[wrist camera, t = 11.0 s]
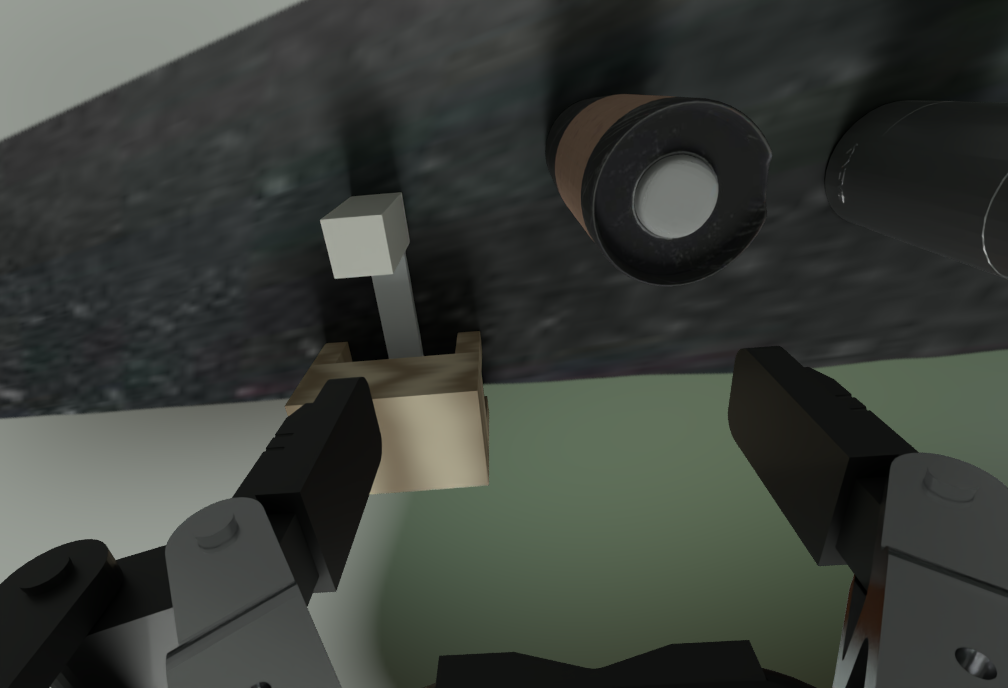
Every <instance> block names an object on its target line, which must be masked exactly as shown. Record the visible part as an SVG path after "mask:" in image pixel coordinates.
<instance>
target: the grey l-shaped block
mask: <svg viewBox="0 0 1008 688" xmlns="http://www.w3.org/2000/svg"><path fill="white" fill-rule="evenodd" d="M320 222H321V226H322V230H323V234H324V238H325V242H326V246H327V250H328V254H329V258H330V262H331V266H332V270H333V274H334V278H335V279H338V278H350V277H362V276H372V281H373V285H374V290H375V295H376V300H377V304H378V309H379V314H380V319H381V323H382V328H383V333H384V338H385V342H386V347H387V352H388V357H389V359H396V358H408V357H420V356H424V355H423V349H422V343H421V337H420V332H419V326H418V320H417V314H416V309H415V303H414V297H413V291H412V286H411V280H410V274H409V268H408V262H407V257H406V249H407V247H408V245H409V243H410V239H409V233H408V227H407V221H406V215H405V209H404V203H403V197H402V192H398V193H386V194H374V195H363V196H351V197H350V198H348V199H347V200H346V201H344V202H343V203H342V204H340V205H339V206H338V207H336V208H335V209H334V210H332V211H331V212H330V213H328V214H327V215H326V216H324V217H323V218H322V219H320Z"/></svg>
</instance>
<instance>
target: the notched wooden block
mask: <svg viewBox="0 0 1008 688" xmlns="http://www.w3.org/2000/svg"><path fill="white" fill-rule="evenodd" d="M481 370H482V345H481V336H480V331H473V332H461V333H458V335H457V343H456V350H455V354H445V355H433V356H420V357H408V358H396V359H383V360H371V361H358V362H352V357H351V353H350V349H349V345H348V342H338V343H326V344H325V345H324V347H323V348H322V350H321V351H320V353H319V354H318V356H317V358H316V359H315V361H314V362H313V364H312V365H311V367H310V368H309V370H308V371H307V373H306V374H305V376H304V377H303V379H302V380H301V382H300V384H299V385H298V387H297V388H296V390H295V391H294V393H293V394H292V396H291V397H290V399H289V400H288V402H287V403H286V405H285V409H286V412H287V415H288V416H290V415H291V414H292V413H294V412H295V411H296V410H297V409H299V408H300V407H301V406H303V405H304V404H305V403H313V402H314V400H315V399H316V397H317V396H318V394H319V392H320V391H321V389H322V388H323V386H324V385H325V383H326V382H327V380H329V379H338V378H351V377H364V378H365V379H366V380H367V382H368V385H369V388H370V392H371V396H372V400H373V404H374V408H375V412H376V416H377V420H378V424H379V428H380V432H381V438H382V457H381V462H380V465H379V468H378V471H377V474H376V477H375V480H374V482H373V485H372V488H371V491H370V494H369V495H371V494H384V493H396V492H410V491H422V490H434V489H435V490H436V489H448V488H461V487H472V486H473V487H474V486H486V485H489V409H488V400H487V396H484V392H483V382H482V373H481Z"/></svg>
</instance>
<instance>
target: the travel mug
mask: <svg viewBox="0 0 1008 688" xmlns="http://www.w3.org/2000/svg"><path fill="white" fill-rule="evenodd" d="M771 158H772V151H771V148H770V145H769V143H768V142H767V140H766V138H765V136H764V135H763V133H762V132H761V130H760V129H759V128H758V127H757V126H756V124H755V123H754V122H753V121H752V120H751V119H750V118H749V117H747V116H746V115H745V114H744V113H742V112H741V111H739V110H737V109H736V108H734V107H732V106H730V105H727V104H725V103H722V102H720V101H715V100H710V99H706V98H689V97H670V96H652V95H634V94H618V95H609V96H602V97H594V98H589V99H585V100H581V101H579V102H576V103H575V104H573V105H571V106H570V107H568V108H567V109H566V110H564V111H563V112H562V113H561V114H560V115H559V117H558V118H557V119H556V120H555V122H554V124H553V125H552V127H551V129H550V132H549V135H548V138H547V142H546V162H547V166H548V170H549V172H550V175H551V177H552V179H553V181H554V183H555V185H556V187H557V189H558V191H559V193H560V195H561V197H562V199H563V200H564V202H565V204H566V205H567V206H568V208H569V209H570V210H571V212H572V213H573V215H574V216H575V217H576V219H577V220H578V221H579V223H580V224H581V225H582V227H583V228H584V229H585V231H586V232H587V233H588V235H589V236H590V237H591V239H592V240H593V241H594V243H595V244H596V245H597V247H598V248H599V249H600V251H601V252H602V253H603V255H604V256H605V257H606V258H607V259H608V261H609V262H610V263H611V264H612V265H613V266H615V267H616V268H617V269H618V270H619V271H620V272H622V273H624V274H625V275H627V276H628V277H630V278H632V279H635V280H637V281H639V282H642V283H646V284H650V285H656V286H679V285H685V284H690V283H694V282H697V281H700V280H703V279H705V278H707V277H709V276H711V275H714V274H715V273H717V272H719V271H720V270H722V269H724V268H725V267H726V266H728V265H729V264H730V263H732V262H733V261H734V260H735V259H736V258H737V257H738V256H740V255H741V254H742V253H743V252H744V251H745V249H746V248H747V247H748V246H749V245H750V244H751V242H752V241H753V240H754V238H755V237H756V236H757V234H758V233H759V231H760V229H761V228H762V226H763V224H764V222H765V220H766V217H767V210H766V192H767V181H768V171H769V164H770V161H771Z"/></svg>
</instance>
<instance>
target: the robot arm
mask: <svg viewBox="0 0 1008 688" xmlns="http://www.w3.org/2000/svg"><path fill="white" fill-rule="evenodd" d="M825 190H826V196H827V199H828V202H829V204H830V206H831V207H832V209H833V210H834V211H835V213H836V214H837V215H839V216H840V217H841V218H843V219H844V220H847V221H849V222H852V223H854V224H857V225H860V226H862V227H865V228H868V229H871V230H873V231H876V232H879V233H881V234H884V235H886V236H889V237H892V238H895V239H897V240H900V241H903V242H906V243H908V244H911V245H914V246H917V247H920V248H922V249H925V250H928V251H931V252H933V253H936V254H939V255H942V256H945V257H947V258H950V259H953V260H956V261H958V262H961V263H964V264H967V265H970V266H972V267H975V268H978V269H981V270H983V271H986V272H989V273H992V274H994V275H997V276H1000V277H1003V278H1006V279H1008V103H1004V102H958V101H919V100H907V101H896V102H892V103H889V104H885V105H882V106H880V107H878V108H876V109H874V110H872V111H870V112H869V113H867V114H866V115H865V116H863V117H862V118H861V119H859V120H858V121H857V122H856V123H855V124H854V125H853V126H852V127H851V128H850V129H849V130H848V131H847V132H846V133H845V134H844V136H843V137H842V138H841V140H840V141H839V142H838V144H837V145H836V147H835V149H834V151H833V153H832V155H831V157H830V160H829V163H828V167H827V170H826V177H825ZM728 420H729V427H730V430H731V434H732V436H733V438H734V440H735V442H736V443H737V445H738V446H739V448H740V449H741V451H742V452H743V453H744V455H745V457H746V458H747V460H748V461H749V462H750V464H751V466H752V467H753V468H754V470H755V471H756V473H757V475H758V476H759V478H760V479H761V481H762V482H763V484H764V485H765V487H766V488H767V490H768V491H769V493H770V494H771V495H772V497H773V499H774V500H775V502H776V503H777V505H778V506H779V508H780V509H781V511H782V512H783V514H784V515H785V517H786V518H787V520H788V521H789V523H790V524H791V526H792V527H793V529H794V530H795V532H796V533H797V535H798V536H799V538H800V539H801V541H802V542H803V544H804V545H805V547H806V548H807V550H808V551H809V553H810V554H811V556H812V557H813V559H814V560H815V562H816V563H817V565H818V566H829V565H846V564H847V565H848V566H849V567H850V569H851V570H852V571H853V573H854V576H853V580H852V582H851V585H850V589H849V594H848V600H847V607H846V612H845V618H844V624H843V630H842V636H841V642H840V649H839V654H838V660H837V666H836V672H835V677H834V682H833V686H832V688H1008V488H1007V487H1006V486H1005V485H1004V484H1003V483H1002V482H1001V481H999V480H998V479H997V478H995V477H994V476H992V475H991V474H989V473H988V472H986V471H984V470H982V469H980V468H978V467H976V466H974V465H971V464H969V463H967V462H964V461H961V460H958V459H955V458H951V457H948V456H944V455H939V454H932V453H919V452H918V451H917V450H915V449H914V448H913V447H912V446H911V445H910V444H908V443H907V442H906V441H905V440H904V439H903V438H901V437H900V436H899V435H898V434H896V432H895V431H893V430H892V429H891V428H890V427H889V426H888V425H886V424H885V423H884V422H883V421H882V420H881V419H879V418H878V417H877V416H876V415H875V414H874V413H872V412H871V411H870V410H869V411H867V410H866V406H864V405H863V404H862V403H861V402H860V401H859V400H857V399H856V398H854V397H853V398H852V397H851V394H850V393H849V392H848V391H847V390H846V389H845V388H844V387H842V386H841V385H840V384H839V383H838V382H837V381H835V380H834V379H832V378H830V377H828V376H826V375H824V374H822V373H820V372H818V371H816V370H814V369H812V368H810V367H803V366H802V365H801V364H800V363H799V362H798V361H797V360H795V359H794V358H793V357H792V356H791V355H790V354H789V353H788V352H787V351H786V350H784V349H783V348H782V347H780V346H770V347H757V348H744V349H740V350H739V351H738V353H737V355H736V358H735V364H734V371H733V378H732V386H731V393H730V400H729V407H728ZM381 457H382V438H381V432H380V428H379V424H378V420H377V416H376V412H375V408H374V404H373V400H372V396H371V392H370V388H369V385H368V382H367V380H366V379H365V378H364V377H351V378H338V379H329V380H327V382H326V383H325V385H324V386H323V388H322V389H321V391H320V392H319V394H318V396H317V397H316V399H315V400H314V402H313V403H305V404H304V405H303V406H301V407H300V408H299V409H297V410H296V411H295V412H294V413H292V414H291V415H290V416H288V417H287V418H286V420H285V421H284V422H283V424H282V425H281V427H280V428H279V430H278V431H277V433H276V434H275V438H273V439H272V440H271V441H270V443H269V444H268V446H267V447H266V451H265V452H263V453H262V455H261V456H260V458H259V459H258V461H257V462H256V463H255V465H254V466H253V468H252V469H251V471H250V472H249V474H248V475H247V477H246V478H245V479H244V481H243V482H242V484H241V485H240V487H239V488H238V490H237V491H236V493H235V494H234V496H233V497H232V498H230V499H226V500H222V501H219V502H216V503H214V504H211V505H209V506H207V507H205V508H203V509H201V510H200V511H198V512H196V513H195V514H193V515H192V516H190V517H189V518H188V519H186V521H184V522H183V523H182V524H181V525H180V526H179V527H178V528H177V529H176V530H175V531H174V533H173V534H172V535H171V537H170V538H169V540H168V542H167V545H165V546H161V547H158V548H155V549H152V550H148V551H145V552H141V553H138V554H135V555H131V556H128V557H125V558H121V559H118V560H115V558H114V557H113V555H112V554H111V552H110V551H109V549H108V548H107V546H106V545H105V544H104V543H103V542H101V541H99V540H93V539H85V540H78V541H74V542H70V543H67V544H64V545H61V546H58V547H56V548H54V549H51V550H49V551H47V552H45V553H43V554H41V555H39V556H37V557H36V558H34V559H32V560H31V561H29V562H27V563H26V564H25V565H23V566H22V567H20V568H19V569H17V570H16V571H15V572H14V573H12V574H11V575H10V576H9V577H8V578H7V579H5V580H4V581H3V582H2V583H1V584H0V688H49V687H51V688H342V687H341V685H340V682H339V680H338V678H337V676H336V673H335V671H334V668H333V666H332V664H331V662H330V659H329V657H328V655H327V652H326V650H325V648H324V645H323V643H322V641H321V638H320V636H319V634H318V631H317V629H316V627H315V624H314V622H313V620H312V618H311V615H310V613H309V611H308V608H307V606H308V604H309V601H310V599H311V596H312V594H313V593H321V592H336V590H337V587H338V584H339V581H340V579H341V575H342V573H343V570H344V567H345V564H346V561H347V558H348V555H349V552H350V549H351V546H352V543H353V541H354V538H355V535H356V532H357V529H358V526H359V523H360V520H361V517H362V514H363V512H364V509H365V506H366V503H367V500H368V497H369V494H370V491H371V488H372V485H373V482H374V480H375V477H376V474H377V471H378V468H379V465H380V462H381ZM424 688H816V687H814V686H812V685H810V684H807V683H805V682H803V681H800V680H798V679H796V678H794V677H791V676H787V675H785V674H782V673H779V672H776V671H772V670H769V669H764V668H761V666H760V664H759V661H758V659H757V657H756V655H755V652H754V650H753V648H752V646H751V643H750V641H749V640H741V641H721V642H703V643H682V644H670V645H667V646H664V647H661V648H659V649H656V650H652V651H650V652H647V653H644V654H641V655H638V656H635V657H632V658H629V659H626V660H623V661H620V662H617V663H614V664H611V665H609V666H606V667H602V668H598V669H590V668H584V667H580V666H575V665H571V664H566V663H561V662H557V661H552V660H548V659H543V658H539V657H534V656H529V655H525V654H520V653H516V652H508V653H507V652H506V653H486V654H466V655H446V656H439V662H438V671H437V679H436V683H434V684H431V685H428V686H425V687H424Z"/></svg>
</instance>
